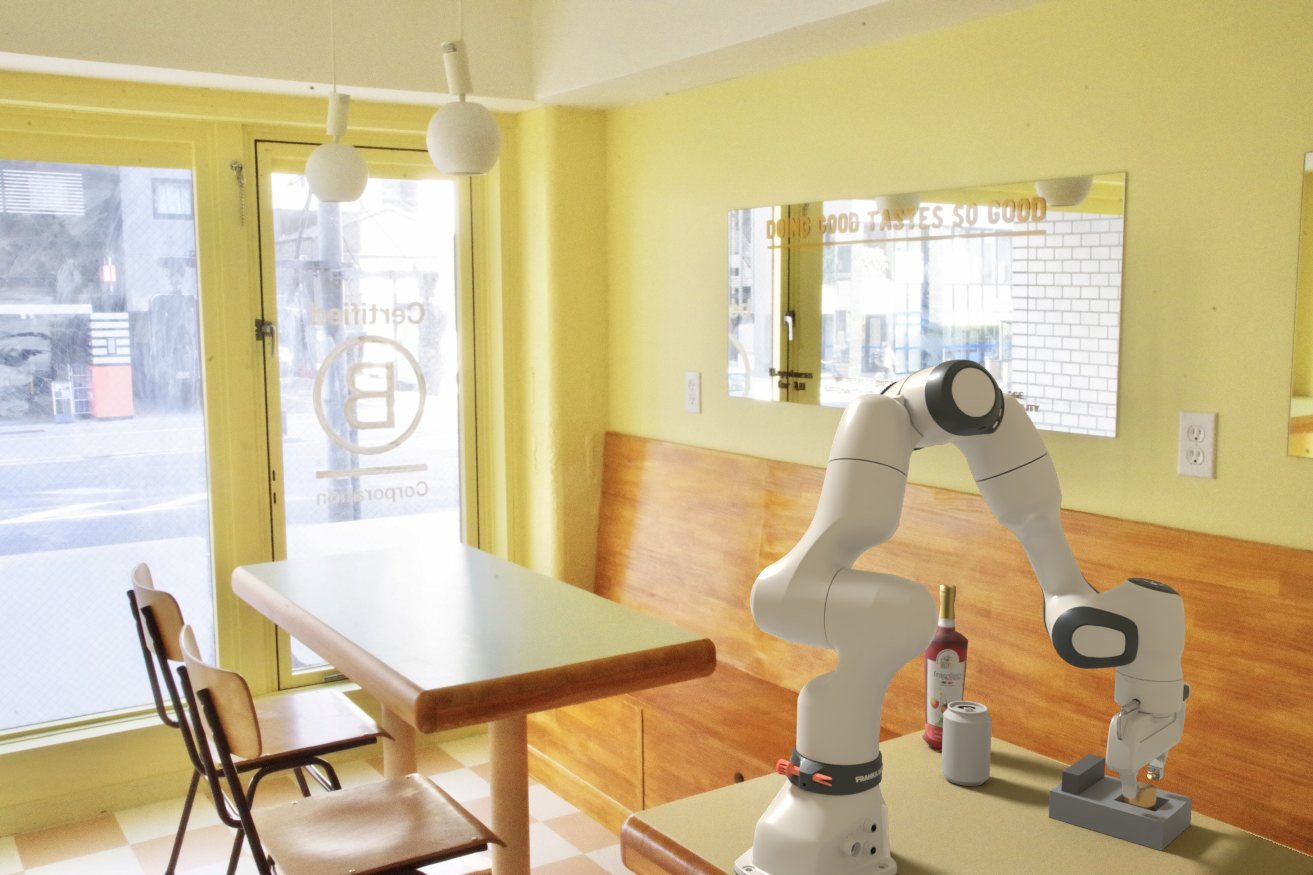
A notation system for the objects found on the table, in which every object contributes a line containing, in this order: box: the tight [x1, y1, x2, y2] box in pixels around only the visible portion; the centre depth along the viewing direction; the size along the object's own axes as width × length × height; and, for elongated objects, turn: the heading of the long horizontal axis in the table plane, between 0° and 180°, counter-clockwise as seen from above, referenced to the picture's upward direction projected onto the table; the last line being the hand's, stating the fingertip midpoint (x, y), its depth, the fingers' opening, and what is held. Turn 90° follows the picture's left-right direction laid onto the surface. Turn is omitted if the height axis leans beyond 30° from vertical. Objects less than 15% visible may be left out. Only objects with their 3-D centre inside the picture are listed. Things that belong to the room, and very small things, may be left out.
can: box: [940, 700, 993, 787], centre depth 181 cm, size 8×8×12 cm
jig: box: [1048, 753, 1193, 851], centre depth 165 cm, size 12×16×7 cm
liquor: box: [921, 584, 969, 751], centre depth 195 cm, size 7×7×28 cm
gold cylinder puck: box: [1124, 781, 1158, 811], centre depth 163 cm, size 4×4×6 cm
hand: (1142, 787), depth 163 cm, fingers open, 8 cm apart
